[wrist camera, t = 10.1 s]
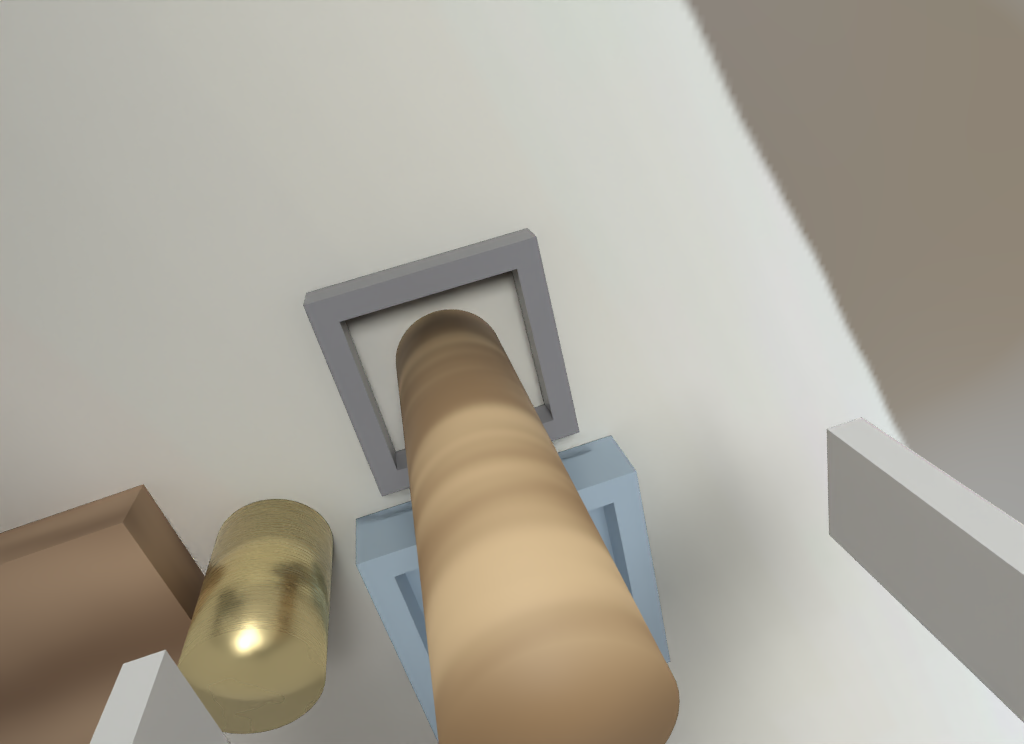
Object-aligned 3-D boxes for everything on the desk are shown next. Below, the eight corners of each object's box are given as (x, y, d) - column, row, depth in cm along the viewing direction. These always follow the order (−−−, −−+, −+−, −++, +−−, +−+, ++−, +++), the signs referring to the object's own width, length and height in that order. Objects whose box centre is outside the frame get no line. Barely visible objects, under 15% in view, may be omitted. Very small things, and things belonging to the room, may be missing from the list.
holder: (306, 293, 20) (303, 305, 19) (527, 228, 21) (536, 236, 19) (380, 477, 23) (381, 496, 22) (569, 416, 24) (579, 431, 23)
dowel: (381, 327, 21) (407, 695, 8) (487, 296, 21) (663, 605, 9) (413, 419, 22) (476, 843, 10) (512, 389, 23) (691, 763, 10)
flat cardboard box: (-92, 558, 21) (-146, 614, 19) (147, 477, 22) (122, 522, 20) (49, 709, 25) (17, 771, 23) (251, 636, 25) (240, 690, 23)
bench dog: (196, 521, 22) (145, 660, 17) (309, 484, 23) (294, 610, 17) (244, 601, 24) (211, 751, 19) (348, 567, 24) (345, 704, 19)
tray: (356, 518, 24) (355, 564, 21) (611, 435, 25) (636, 471, 22) (433, 692, 28) (439, 745, 26) (646, 616, 29) (670, 662, 27)
